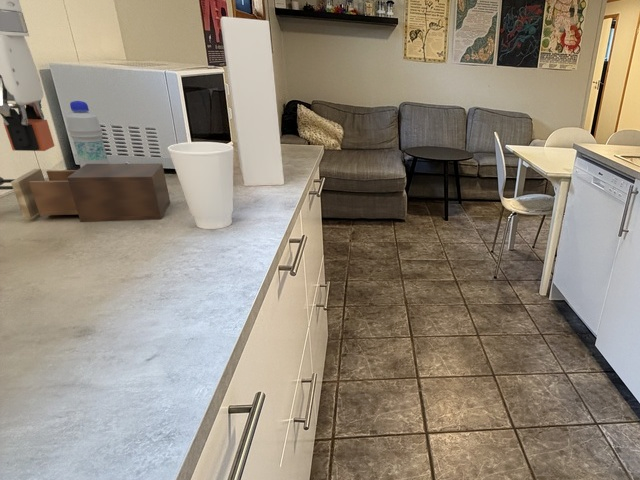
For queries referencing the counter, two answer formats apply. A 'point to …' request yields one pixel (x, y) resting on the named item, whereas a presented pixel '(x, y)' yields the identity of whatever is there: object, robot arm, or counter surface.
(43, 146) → the block
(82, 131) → the bottle
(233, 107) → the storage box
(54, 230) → the counter surface
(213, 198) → the cup
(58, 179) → the drawer
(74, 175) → the cabinet
